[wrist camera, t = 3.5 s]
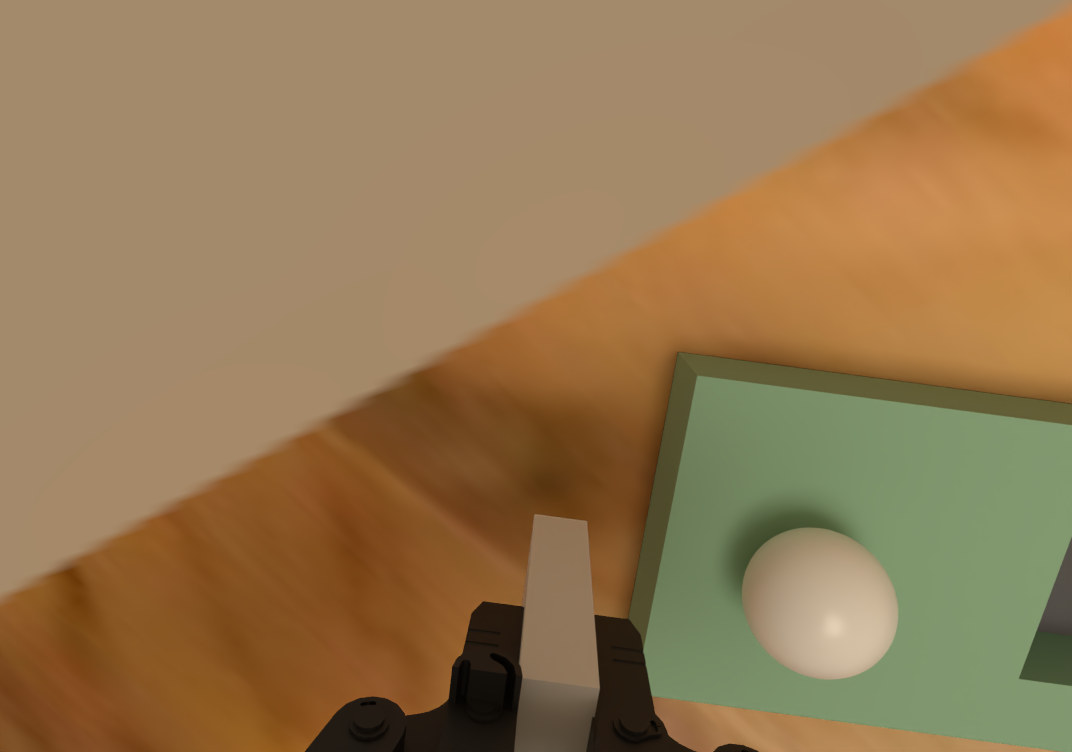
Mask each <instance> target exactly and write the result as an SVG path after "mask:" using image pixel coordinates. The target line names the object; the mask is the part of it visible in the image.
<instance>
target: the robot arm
mask: <svg viewBox="0 0 1072 752" xmlns="http://www.w3.org/2000/svg"><path fill="white" fill-rule="evenodd" d="M643 651H644V650H643V645H642V639H641V634H640V633H639V632H638V630H637V629H636V628H635V626H634V625H633V624H632V622H631V621H630V620H629V619H621V618H614V617H606V616H599V615H594V605H593V592H592V579H591V565H590V552H589V539H588V526H587V521H583V520H576V519H568V518H561V517H553V516H546V515H539V514H534V520H533V528H532V535H531V542H530V550H529V557H528V564H527V571H526V579H525V586H524V593H523V601H522V607H521V606H514V605H507V604H499V603H492V602H484V601H483V602H482V603H481V604H480V605H479V606H478V607H477V608H476V609H475V610H474V612H473V613H472V615H471V619H470V623H469V628H468V632H467V637H466V641H465V645H464V650H463V654H462V655H461V656H459V657H458V658H457V659H456V661H455V663H454V665H453V666H452V675H451V684H450V693H449V699H448V700H447V702H445V703H444V704H443V705H441V706H440V707H438V708H436V709H434V710H432V711H429V712H425V713H421V714H415V715H407V716H405V713H404V712H403V711H402V710H401V708H400V707H399V706H398V705H397V704H396V703H394V702H392V701H390V700H388V699H385V698H379V697H366V698H359V699H357V700H354V701H352V702H349V703H347V704H346V705H344V706H343V707H342V708H341V709H340V710H339V711H338V712H336V714H335V715H334V716H333V717H332V719H331V720H330V721H329V722H328V724H327V725H326V726H325V727H324V729H323V730H322V731H321V732H320V734H319V735H318V736H317V737H316V738H315V740H314V741H313V742H312V743H311V745H310V746H309V747H308V748H307V750H306V751H305V752H696V751H693V750H691V749H689V748H687V747H685V746H683V745H681V744H679V743H678V742H676V741H675V740H673V739H672V738H671V737H670V736H669V735H668V733H667V730H666V728H665V726H664V724H663V722H662V721H661V720H660V719H659V718H658V717H657V715H656V714H655V711H654V705H653V700H652V694H651V689H650V683H649V678H648V672H647V667H646V661H645V656H644V653H643ZM714 752H758V751H757V750H754V749H751V748H749V747H746V746H744V745H737V744H727V745H723V746H719V747H718V748H717V749H716V750H715V751H714Z"/></svg>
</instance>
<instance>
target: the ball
mask: <svg viewBox="0 0 1072 752" xmlns="http://www.w3.org/2000/svg"><path fill="white" fill-rule="evenodd" d="M742 603H743V610H744V613H745V617H746V620H747V623H748V625H749V627H750V629H751V631H752V633H753V635H754V636H755V638H756V639H757V641H758V642H759V644H760V645H761V646H762V647H763V648H764V649H765V650H766V652H767V653H768V654H769V655H771V656H772V657H773V658H774V659H775V660H777V661H778V662H779V663H780V664H782V665H784V666H785V667H787V668H789V669H791V670H792V671H795V672H797V673H799V674H802V675H805V676H808V677H812V678H817V679H826V680H832V679H843V678H848V677H852V676H855V675H858V674H860V673H862V672H864V671H866V670H868V669H869V668H871V667H872V666H874V665H875V664H876V663H877V662H878V661H879V660H880V659H881V658H882V657H883V656H884V655H885V653H886V652H887V651H888V649H889V647H890V646H891V644H892V642H893V639H894V637H895V633H896V630H897V625H898V602H897V598H896V593H895V589H894V587H893V584H892V582H891V580H890V578H889V575H888V574H887V572H886V571H885V569H884V567H883V566H882V565H881V563H880V562H879V561H878V560H877V559H876V557H875V556H874V555H873V554H872V553H871V552H869V551H868V550H867V549H866V548H865V547H864V546H862V545H861V544H859V543H858V542H856V541H855V540H853V539H852V538H850V537H848V536H846V535H843V534H841V533H838V532H835V531H832V530H828V529H823V528H811V527H808V528H797V529H792V530H788V531H785V532H783V533H780V534H778V535H776V536H774V537H773V538H771V539H770V540H768V541H767V542H765V543H764V544H763V545H762V546H761V547H760V548H759V549H758V550H757V551H756V552H755V554H754V555H753V557H752V558H751V560H750V562H749V564H748V566H747V568H746V571H745V574H744V578H743V584H742Z"/></svg>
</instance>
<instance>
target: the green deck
mask: <svg viewBox="0 0 1072 752" xmlns="http://www.w3.org/2000/svg"><path fill="white" fill-rule="evenodd" d="M808 527H811V528H823V529H828V530H832V531H835V532H838V533H841V534H843V535H846V536H848V537H850V538H852V539H853V540H855V541H856V542H858V543H859V544H861V545H862V546H864V547H865V548H866V549H867V550H868V551H869V552H871V553H872V554H873V555H874V556H875V557H876V559H877V560H878V561H879V562H880V563H881V565H882V566H883V567H884V569H885V571H886V572H887V574H888V575H889V578H890V580H891V582H892V584H893V587H894V589H895V593H896V598H897V602H898V625H897V630H896V633H895V637H894V639H893V642H892V644H891V646H890V647H889V649H888V651H887V652H886V653H885V655H884V656H883V657H882V658H881V659H880V660H879V661H878V662H877V663H876V664H875V665H874V666H872V667H871V668H869V669H868V670H866V671H864V672H862V673H860V674H858V675H855V676H852V677H848V678H843V679H832V680H826V679H817V678H812V677H808V676H805V675H802V674H799V673H797V672H795V671H792V670H791V669H789V668H787V667H785V666H784V665H782V664H780V663H779V662H778V661H777V660H775V659H774V658H773V657H772V656H771V655H769V654H768V653H767V652H766V650H765V649H764V648H763V647H762V646H761V645H760V644H759V642H758V641H757V639H756V638H755V636H754V635H753V633H752V631H751V629H750V627H749V625H748V623H747V620H746V617H745V613H744V610H743V603H742V584H743V578H744V574H745V571H746V568H747V566H748V564H749V562H750V560H751V558H752V557H753V555H754V554H755V552H756V551H757V550H758V549H759V548H760V547H761V546H762V545H763V544H764V543H765V542H767V541H768V540H770V539H771V538H773V537H774V536H776V535H778V534H780V533H783V532H785V531H788V530H792V529H797V528H808ZM628 619H629V620H630V621H631V622H632V624H633V625H634V626H635V628H636V629H637V630H638V632H639V633H640V634H641V639H642V645H643V650H644V651H643V653H644V656H645V661H646V667H647V672H648V678H649V683H650V689H651V694H652V696H655V697H662V698H669V699H677V700H684V701H692V702H699V703H706V704H714V705H721V706H728V707H736V708H743V709H751V710H758V711H765V712H773V713H780V714H788V715H795V716H802V717H810V718H817V719H825V720H832V721H839V722H847V723H854V724H862V725H869V726H876V727H884V728H891V729H898V730H906V731H913V732H921V733H928V734H935V735H943V736H950V737H958V738H965V739H972V740H980V741H987V742H995V743H1002V744H1009V745H1017V746H1024V747H1031V748H1039V749H1046V750H1054V751H1061V752H1072V404H1068V403H1060V402H1053V401H1045V400H1038V399H1030V398H1023V397H1015V396H1007V395H1000V394H992V393H985V392H977V391H970V390H962V389H954V388H947V387H939V386H932V385H924V384H917V383H909V382H902V381H894V380H886V379H879V378H871V377H864V376H856V375H849V374H841V373H833V372H826V371H818V370H811V369H803V368H796V367H788V366H781V365H773V364H765V363H758V362H750V361H743V360H735V359H728V358H720V357H713V356H705V355H697V354H690V353H682V352H678V355H677V360H676V366H675V371H674V376H673V382H672V387H671V392H670V398H669V403H668V408H667V414H666V419H665V424H664V430H663V435H662V440H661V446H660V451H659V456H658V462H657V467H656V472H655V478H654V483H653V488H652V494H651V499H650V504H649V510H648V515H647V520H646V526H645V531H644V537H643V542H642V547H641V553H640V558H639V563H638V569H637V574H636V579H635V585H634V590H633V595H632V601H631V606H630V611H629V617H628Z"/></svg>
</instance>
